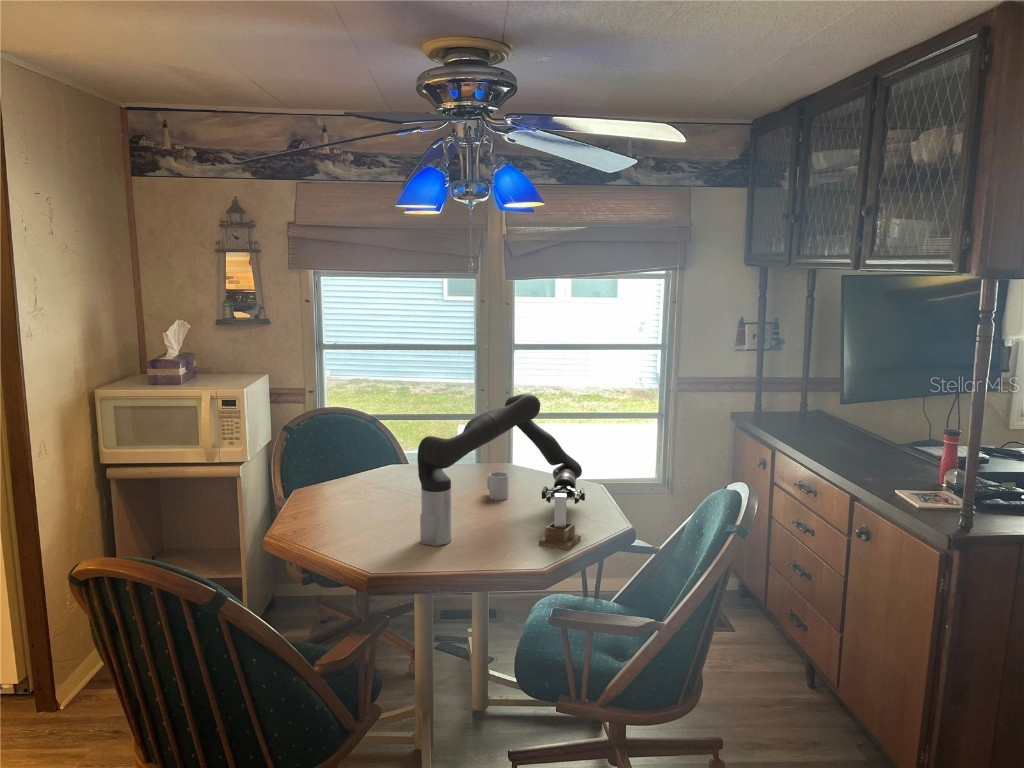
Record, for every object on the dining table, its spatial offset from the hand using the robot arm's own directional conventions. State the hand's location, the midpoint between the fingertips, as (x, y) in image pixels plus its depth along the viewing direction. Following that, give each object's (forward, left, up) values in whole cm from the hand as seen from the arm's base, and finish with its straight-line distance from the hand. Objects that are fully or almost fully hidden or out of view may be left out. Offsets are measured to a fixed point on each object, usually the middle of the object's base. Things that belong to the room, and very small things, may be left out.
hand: (562, 500), depth 241 cm
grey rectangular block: (-7, -2, -10) cm, 12 cm away
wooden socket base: (-7, -2, -11) cm, 13 cm away
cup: (+26, +38, -12) cm, 47 cm away
